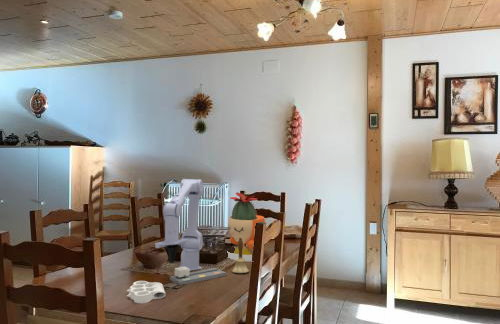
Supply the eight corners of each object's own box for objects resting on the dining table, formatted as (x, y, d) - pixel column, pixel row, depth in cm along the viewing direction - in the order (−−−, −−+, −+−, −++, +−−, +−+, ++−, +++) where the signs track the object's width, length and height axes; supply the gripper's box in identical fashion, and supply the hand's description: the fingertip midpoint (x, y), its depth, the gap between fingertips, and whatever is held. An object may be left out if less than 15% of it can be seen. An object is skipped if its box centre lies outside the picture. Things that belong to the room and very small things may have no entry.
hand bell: (252, 271, 198) (252, 237, 199) (240, 274, 192) (240, 239, 193) (240, 268, 203) (240, 236, 204) (228, 271, 197) (228, 238, 198)
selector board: (170, 279, 183) (170, 275, 183) (215, 271, 198) (215, 266, 198) (179, 285, 176) (179, 280, 176) (225, 275, 191) (225, 271, 191)
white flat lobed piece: (166, 301, 158) (126, 305, 153) (161, 287, 175) (125, 289, 170) (166, 293, 157) (126, 296, 153) (161, 279, 175) (125, 281, 170)
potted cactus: (243, 263, 213) (244, 196, 212) (218, 254, 230) (219, 192, 229) (273, 257, 227) (275, 194, 226) (248, 249, 244) (249, 190, 243)
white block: (174, 274, 183) (174, 268, 183) (184, 273, 186) (184, 266, 186) (182, 278, 178) (182, 271, 178) (192, 276, 181) (192, 270, 181)
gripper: (160, 234, 170) (160, 267, 170) (191, 230, 179) (190, 261, 179) (153, 231, 175) (152, 263, 175) (183, 228, 184) (182, 258, 185)
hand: (171, 262), depth 178 cm, fingers closed
